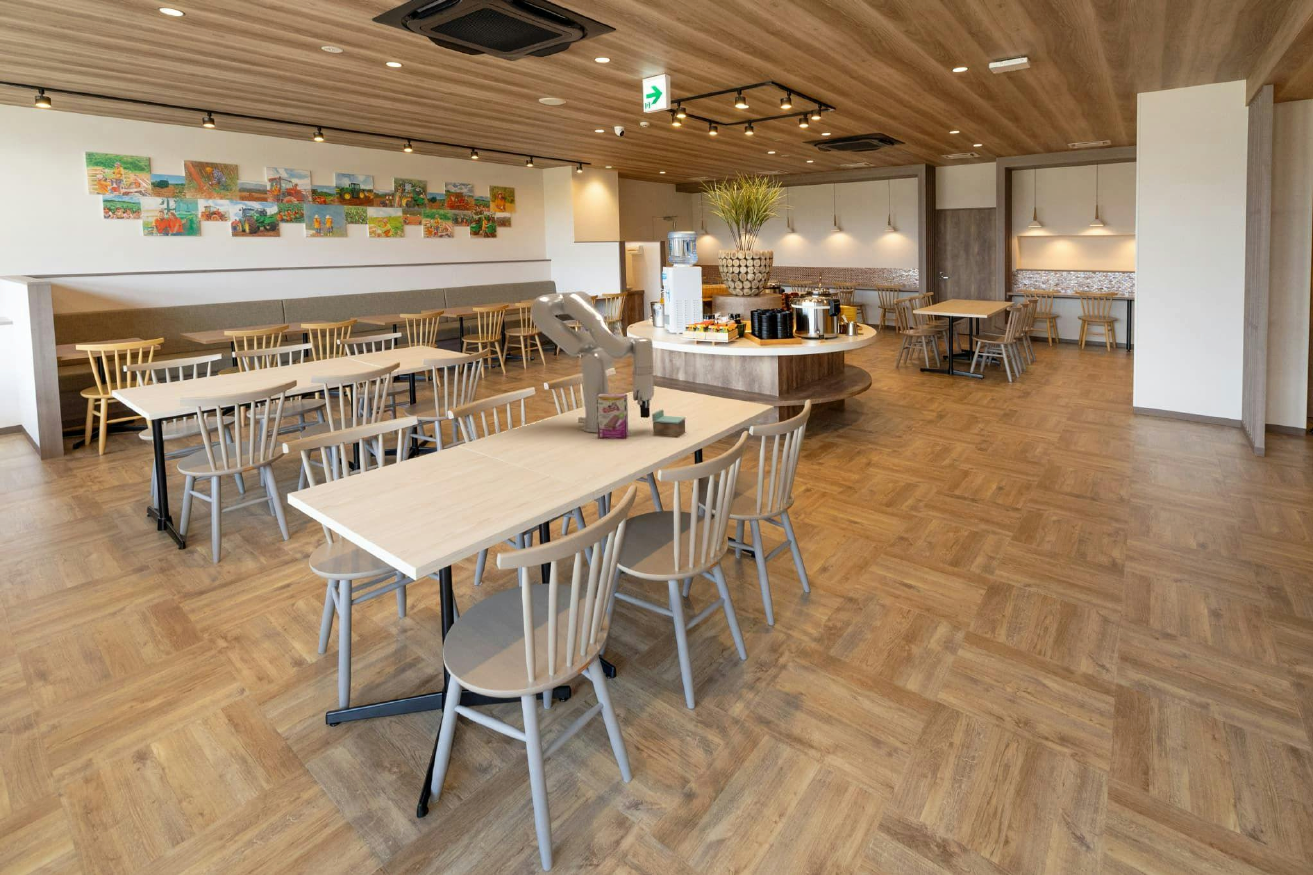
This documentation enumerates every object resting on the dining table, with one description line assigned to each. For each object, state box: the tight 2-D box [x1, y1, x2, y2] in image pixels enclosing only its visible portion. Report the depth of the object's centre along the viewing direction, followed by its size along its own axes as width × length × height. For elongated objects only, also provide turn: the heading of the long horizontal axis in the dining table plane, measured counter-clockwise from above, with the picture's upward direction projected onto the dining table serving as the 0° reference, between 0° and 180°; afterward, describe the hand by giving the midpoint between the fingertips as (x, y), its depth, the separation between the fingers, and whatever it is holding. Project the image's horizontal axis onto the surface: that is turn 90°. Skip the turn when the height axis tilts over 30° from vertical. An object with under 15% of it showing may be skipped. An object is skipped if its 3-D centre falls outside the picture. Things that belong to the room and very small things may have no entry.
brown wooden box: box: [652, 419, 686, 438], centre depth 282 cm, size 10×8×5 cm
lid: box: [651, 409, 687, 424], centre depth 281 cm, size 10×8×3 cm
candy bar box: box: [597, 393, 629, 439], centre depth 278 cm, size 11×5×16 cm, turn 84°
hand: (645, 417), depth 285 cm, fingers closed
